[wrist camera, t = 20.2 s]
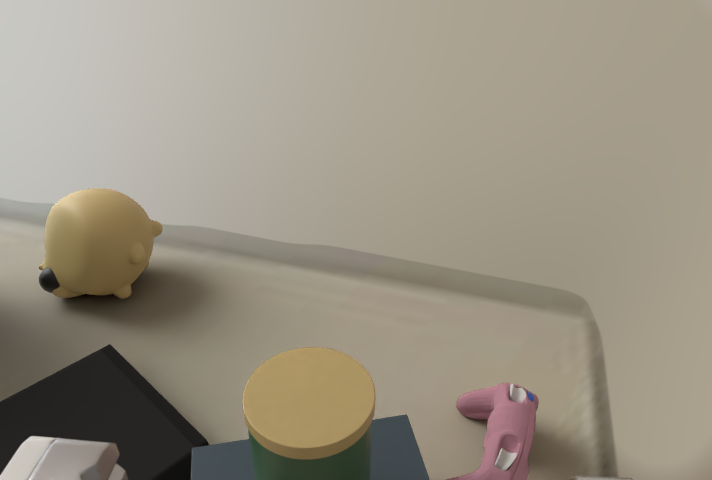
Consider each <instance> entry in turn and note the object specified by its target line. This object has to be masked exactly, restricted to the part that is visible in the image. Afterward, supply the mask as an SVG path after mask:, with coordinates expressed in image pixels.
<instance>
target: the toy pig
mask: <svg viewBox="0 0 712 480" xmlns="http://www.w3.org/2000/svg"><path fill="white" fill-rule="evenodd" d="M161 232H162V225H161V224H160V223H159V222H157V221H153V220H150V219H149V217H148V215H147V213H146V212H145V211H144V209H143V208H142V207H141V206H140V205H139V204H138V203H137V202H135V201H134V200H133V199H131V198H130V197H128V196H127V195H124V194H122V193H120V192H118V191H114V190H109V189H86V190H81V191H77V192H74V193H71V194H69V195H67V196H65V197H64V198H62V199H61V200H59V201H58V202H57V203H56V204H55V205H54V206H53V207H52V209H51V210H50V212H49V215H48V218H47V222H46V227H45V259H44V262H43V263H42V264H40V266H39V269H41V270H43V271H42V272H41V274H40V277H39V283H40V285H41V287H42V288H43V289H44V290H46V291H48V292H50V293H53V294H54V295H56V296H58V297H62V298H70V297H76V296H79V295H83V294H90V295H108V294H114V295H116V296H117V297H119V298H121V299H125V298H128V297H129V296H130V295H131V284H132V283H133V282H134V281H135V280H136V279H137V278H138V277H139V276H140V274H141V273H142V271H143V270H144V269H145V268H147V266H148V264H149V259H150V256H151V253H152V249H153V242H154V238H155V237H156V236H158V235H160V234H161Z"/></svg>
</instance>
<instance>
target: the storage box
mask: <svg viewBox="0 0 712 480" xmlns="http://www.w3.org/2000/svg"><path fill="white" fill-rule="evenodd" d="M191 480H255V475H254V468H253V460H252V453H251V445H250V439H247V440H240V441H234V442H227V443H221V444H215V445H208V446H202V447H195V448H192V459H191ZM370 480H429V477H428V474H427V471H426V468H425V465H424V462H423V460H422V457H421V454H420V451H419V448H418V445H417V442H416V439H415V437H414V434H413V431H412V428H411V425H410V422H409V419H408V416H407V415H401V416H394V417H388V418H381V419H375V420H372V438H371V463H370Z"/></svg>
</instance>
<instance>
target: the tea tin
mask: <svg viewBox="0 0 712 480" xmlns="http://www.w3.org/2000/svg"><path fill="white" fill-rule="evenodd" d="M243 409H244V416H245V422H246V425H247V427H248V430H249V438H250V445H251V453H252V460H253V468H254V475H255V480H370V463H371V438H372V419H373V416H374V410H375V388H374V384H373V381H372V379H371V377H370V375H369V373H368V372H367V371H366V369H365V368H364V367H363V366H362V365H361V364H360V363H359V362H358V361H356V360H355V359H353V358H352V357H350V356H348V355H346V354H344V353H342V352H339V351H336V350H332V349H327V348H319V347H306V348H298V349H293V350H289V351H286V352H283V353H280V354H278V355H276V356H274V357H272V358H270V359H269V360H267V361H266V362H264V363H263V364H262V365H261V366H259V367H258V368H257V369H256V370H255V371H254V373H253V374H252V375H251V377H250V378H249V380H248V382H247V384H246V387H245V389H244V394H243Z"/></svg>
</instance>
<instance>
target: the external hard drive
mask: <svg viewBox="0 0 712 480" xmlns="http://www.w3.org/2000/svg"><path fill="white" fill-rule="evenodd" d="M31 436H38V437H52V438H61V439H73V440H85V441H96V442H108V443H115V444H116V446H117V449H118V451H119V453H120V456H119V458H118V460H117V462H116V463H117V464H118V465H119V466H121V467H122V468H123V469H124V470H125V471H126V474H127V477H128V480H191V459H192V448H195V447H202V446H208V445H209V444H208V442H207V440H206V439H205V438H204V437H203V436H202V435H201V434H200V433H199V432H198V431H197V430H196V429H195V428H194V427H193V426H192V425H191V424H190V423H189V422H188V421H187V420H186V419H185V418H184V417H183V416H182V415H181V414H180V413H179V412H178V411H177V410H176V409H175V408H174V407H173V406H172V405H171V404H170V403H169V402H168V401H167V400H166V399H165V398H164V397H163V396H162V395H161V394H160V393H159V392H158V391H157V390H156V389H155V388H154V387H153V386H152V385H151V384H150V383H149V382H148V381H147V380H146V379H145V378H144V377H142V376H141V375H140V374H139V373H138V372H137V371H136V370H135V369H134V368H133V367H132V366H131V365H130V364H129V363H128V362H127V361H126V360H125V359H124V358H123V357H122V356H121V355H120V354H119V353H118V352H117V351H116V350H115V349H114V348H113V347H112V346H111V345H110V344H109V345H108V346H106V347H104V348H102V349H100V350H98V351H96V352H94V353H92V354H90V355H89V356H87V357H85V358H83V359H81V360H79V361H77V362H75V363H73V364H71V365H70V366H68V367H66V368H64V369H62V370H60V371H58V372H56V373H54V374H52V375H51V376H49V377H47V378H45V379H43V380H41V381H39V382H37V383H35V384H33V385H31V386H30V387H28V388H26V389H24V390H22V391H20V392H18V393H16V394H14V395H12V396H11V397H9V398H7V399H5V400H3V401H1V402H0V475H1V474H2V472H3V471H4V469H5V468H6V466H7V465H8V463H9V462H10V460H11V459H12V457H13V456H14V454H15V453H16V451H17V450H18V448H19V447H20V445H21V444H22V443H23V442H24V441H26V440H27V439H28V438H29V437H31Z"/></svg>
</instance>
